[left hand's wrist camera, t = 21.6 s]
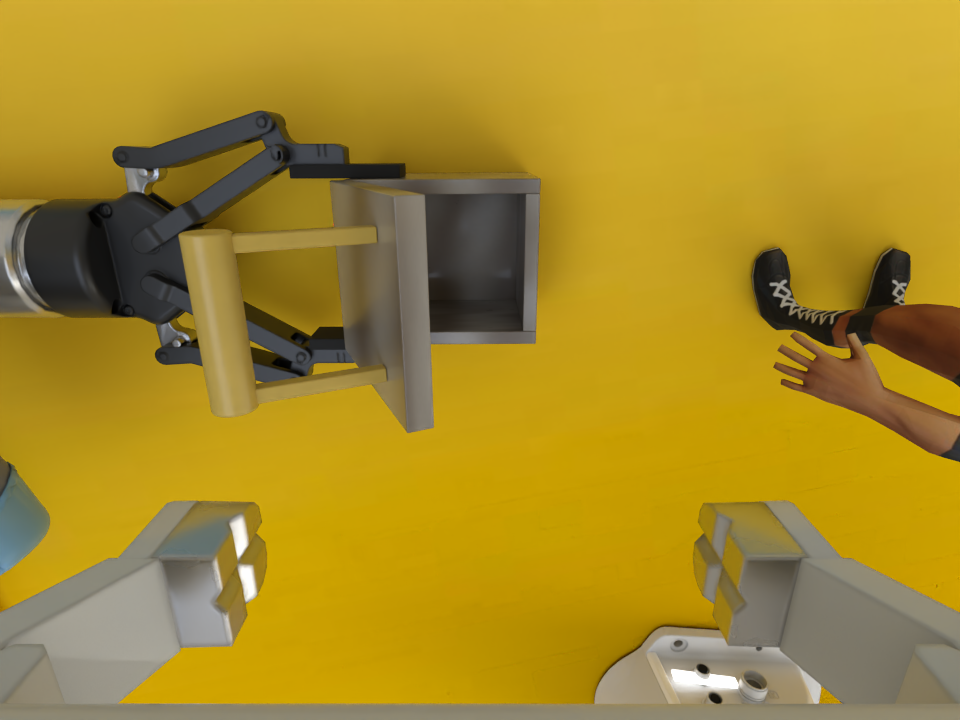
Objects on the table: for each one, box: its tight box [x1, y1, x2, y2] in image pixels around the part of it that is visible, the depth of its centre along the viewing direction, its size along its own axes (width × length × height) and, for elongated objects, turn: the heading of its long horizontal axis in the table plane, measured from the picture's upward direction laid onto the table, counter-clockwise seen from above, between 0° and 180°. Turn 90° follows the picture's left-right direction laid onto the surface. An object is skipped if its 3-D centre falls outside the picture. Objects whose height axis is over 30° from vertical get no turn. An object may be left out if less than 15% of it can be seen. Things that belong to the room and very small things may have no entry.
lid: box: [178, 180, 434, 433], centre depth 27 cm, size 12×10×9 cm
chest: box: [346, 172, 540, 344], centre depth 38 cm, size 11×10×9 cm
